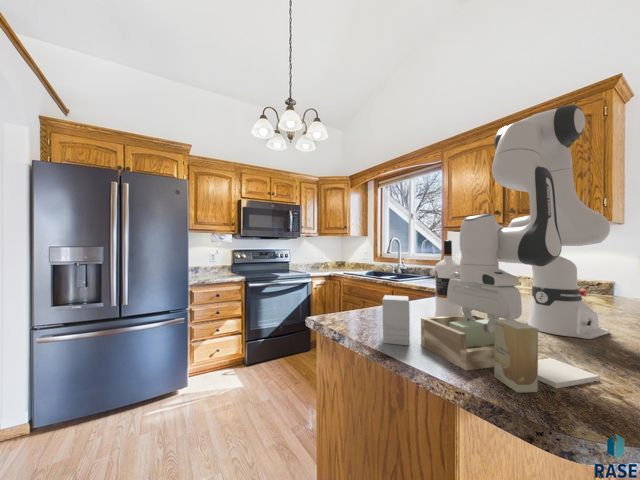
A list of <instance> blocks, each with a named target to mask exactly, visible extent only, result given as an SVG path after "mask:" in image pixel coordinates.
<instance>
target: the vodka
mask: <svg viewBox="0 0 640 480" xmlns="http://www.w3.org/2000/svg"><path fill="white" fill-rule="evenodd" d="M452 244H453V241H452V240H450V239H446V240H443V259H442V260H440V261H438V262H437V263H436V264H435V266H434V270H435V272H434V273H435V274H434V275H435V296H434V298H435V312H434V317H442V316H456V315H463V311H462V307H461V306H458V305H454V304H450V303H449V302H448V300H447V291H448V284H449V281H450V276H451V275H452V274H453V273H455V272H456V273H460V263H458V262H457V261H456V260H454V259H453V245H452ZM458 277H459V276H458Z"/></svg>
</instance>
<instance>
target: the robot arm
mask: <svg viewBox="0 0 640 480" xmlns="http://www.w3.org/2000/svg"><path fill="white" fill-rule="evenodd" d="M585 124H586V117H585V114H584V112H583V110H582V108H581V107H580V106H577V105H576V104H567V105H561V106H558V107H557V108H553V109H548V110H546V111H542V112H538V113H534V114H532V115H531V116H528V117H526V118H523V119H520V120H518V121H515V122H512V123H509V124H507V125H504V126H503V127H502V128H500V129H499V130H498V131H497V133H496V134H495V136H494V139H493V140H494V149H495V153H494V157H493V162H492V165H491V174H492V175H491V176H492V178H493V179H494V181H495V182H496V183H497V184H498V185H499V186H502V187H504V188H506V189H508V190H513V191H519V192H524V193H525V192H526V193H527V194H528V198H529V199H528V200H529V215H524V216H520V217H517V218H513V219H512V220H510V222H509V224H508V226H507V227H506V226H503V225H501V224H499V223H498V222H497V220H496V216H495V215H494V214H491V213H483V214H477V215H476V214H475V215H469V216H467V217H465V218H463V219H462V221H461V224H460V231H459V250H460V253H461V258H460V260H459V264H460V273H456V272H455V273H453V274H452V275H451V276H450V281H449V284H448V291H447V300H448V302H449V303H450V304H454V305H458V306H461V310H462V314H463V315H465V318H466V321H471V320H475V318H473V316H472V314H473V313H472V311H476V312H479V313H481V314H482V313H483V314H485V315H487V317H486V318H489V321H488V323H487V324H484V327H485V328H484V330H485V331H488V332H494V331H495V320H500V318H501V319H513V320H517V319H518V320H519V318H520V317H521V316H522V313H523V311H522V310H523V308H522V307H523V306H522V304H523V303H522V295H521V292H520V289H518V286H519V284H520V279H519V277H518V276H516V275H513V274H511V273H509V272H507V271H505V270H503V269H500V267H499V266H500V265H499V264H500V263H505V264H522V265H529V266H531V268H532V279H533V280H532V281H533V283H532V284H533V285H532V286H531V296H532V299H531V300H530V302H529V310H528V311H529V312H528V318H527V319H525V324H527V325H530V326H532V327H535V328H538V332H543V333H547V334H551V335H557V336H562V337H563V336H565V337H572V338H573V337H574V338H579V339H580V338H581V339H587V340H593V339H595V338H599V337H602V336H604V335H608V334H610V330H609V329H608V328H606V327H605V328H604V327H602V326H600V324H599V315H598V313H597V312H596V311H594V310H593V309H592V308H590V306H589V305H587V304H586V303H585V302H584V301H583V298H582V297H587V295H588V292H587V290H586V289H579V288H578V267H577V266H576V264H575V263H574V262H573V261H572V260H570V259H568V258H565V257H563V256H561V253H562V247H583V246H589V245H595V244H601V243H602V242H603V241H605V240H606V239H607V237H608V236H609V235H610V232H611V225H610V222H609V219H608V218H607V217H606V216H605V215H603V214H602V213H600V212H598V211H596V210H594V209H592V208H590V207H588V206H587V205H586V204H585V203H584V202H582V200H581V198H580V197H579V196H578V193H577V191H576V187H575V181H574V169H573V168H574V167H573V165H574V164H573V159H572V153H571V150H570V149H571V148H570V147H571V146H572V145H573V144H574V142H576V141H578V139H579V138H580V136H581V135H582V134H583V132H584V128H585V126H586V125H585ZM458 276H459V277H458ZM516 286H517V287H516Z"/></svg>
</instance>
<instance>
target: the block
mask: <svg viewBox="0 0 640 480" xmlns="http://www.w3.org/2000/svg"><path fill="white" fill-rule="evenodd" d="M488 321H489V320H487V319H484V320H471V321H459V322H449V327H450V328H453V329H455V330H458V331H460V332H463V333H465V334H466V347H472V346H481V345H490V344H495V331H494V332H488V331H485V330H484V328H485V327H484V324H487V323H488Z"/></svg>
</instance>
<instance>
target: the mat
mask: <svg viewBox="0 0 640 480" xmlns="http://www.w3.org/2000/svg"><path fill="white" fill-rule="evenodd" d="M600 379H601V378H600V375H599V374H595V373H593V372H590V371H587V370H585V369H581V368H579V367H576V366H574V365H571V364H568V363H565V362H563V361H560V360H558V359H555V358H551V357H549V358H544V359H538V382H541V383H544V384H546V385H548V386H550V387H553V388H555V389H560V388H561V389H562V388H567V387H571V386H572V387H573V386H578V385H583V384H589V383H594V381H596V382H600V381H599V380H600Z"/></svg>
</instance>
